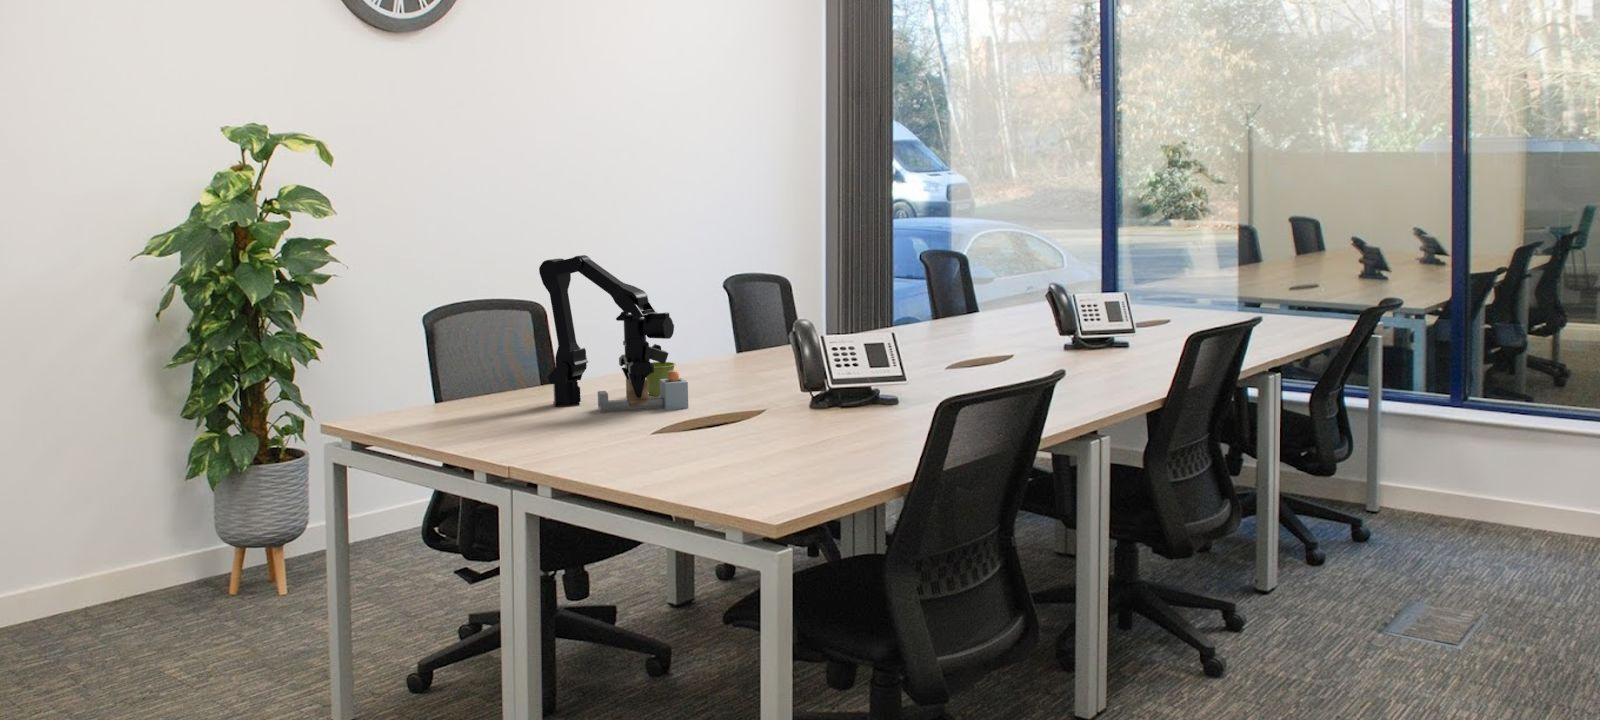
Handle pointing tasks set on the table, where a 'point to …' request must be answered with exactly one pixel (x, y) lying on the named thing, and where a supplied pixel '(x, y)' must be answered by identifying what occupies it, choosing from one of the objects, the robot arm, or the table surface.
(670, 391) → the blue grey open box
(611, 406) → the rail
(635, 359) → the robot arm
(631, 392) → the block
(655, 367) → the plant pot
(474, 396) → the table surface
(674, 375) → the brown egg
